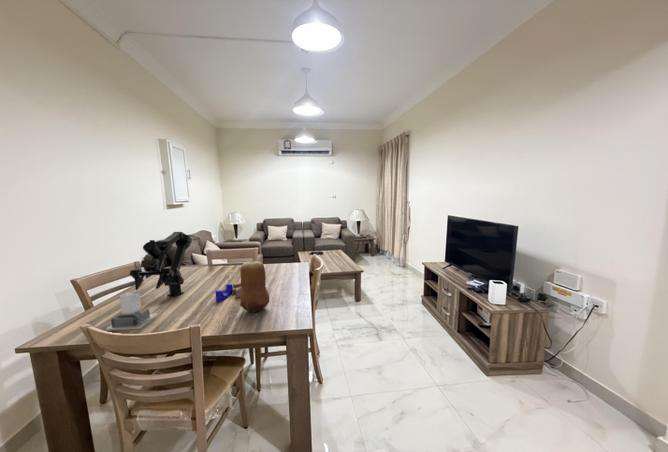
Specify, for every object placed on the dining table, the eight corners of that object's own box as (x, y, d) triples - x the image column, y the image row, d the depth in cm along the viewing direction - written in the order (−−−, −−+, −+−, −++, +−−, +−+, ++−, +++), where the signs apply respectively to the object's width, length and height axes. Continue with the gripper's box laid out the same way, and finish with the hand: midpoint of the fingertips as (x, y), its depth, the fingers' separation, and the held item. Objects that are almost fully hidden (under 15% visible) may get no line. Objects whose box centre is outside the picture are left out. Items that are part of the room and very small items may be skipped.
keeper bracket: (128, 316, 127) (127, 307, 126) (157, 315, 127) (157, 306, 127) (106, 330, 114) (105, 320, 113) (139, 328, 115) (138, 319, 114)
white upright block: (131, 318, 123) (127, 291, 121) (142, 318, 123) (139, 291, 121) (122, 323, 118) (119, 295, 116) (134, 323, 118) (131, 295, 116)
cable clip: (225, 293, 155) (225, 283, 155) (232, 293, 155) (232, 284, 154) (213, 301, 144) (212, 291, 143) (221, 302, 143) (220, 291, 142)
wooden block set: (231, 281, 161) (261, 277, 169) (231, 290, 162) (261, 285, 170) (234, 289, 146) (266, 284, 154) (234, 299, 147) (267, 293, 155)
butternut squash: (261, 302, 140) (258, 256, 138) (274, 310, 131) (272, 261, 128) (236, 311, 131) (232, 261, 128) (248, 319, 121) (245, 266, 118)
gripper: (129, 254, 130) (116, 282, 120) (169, 252, 132) (159, 280, 122) (140, 265, 139) (129, 293, 129) (178, 263, 141) (169, 290, 131)
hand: (146, 289), depth 128 cm, fingers open, 9 cm apart
